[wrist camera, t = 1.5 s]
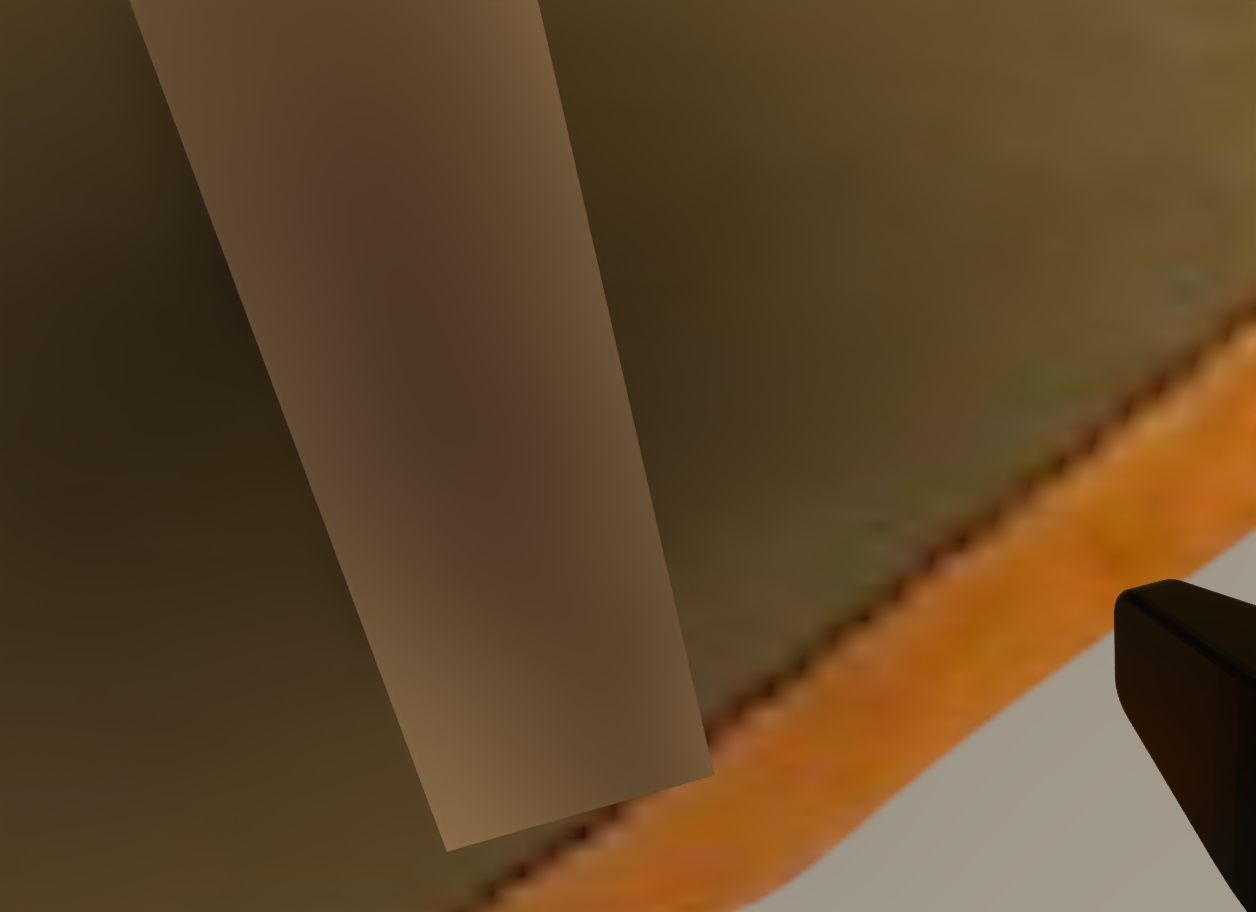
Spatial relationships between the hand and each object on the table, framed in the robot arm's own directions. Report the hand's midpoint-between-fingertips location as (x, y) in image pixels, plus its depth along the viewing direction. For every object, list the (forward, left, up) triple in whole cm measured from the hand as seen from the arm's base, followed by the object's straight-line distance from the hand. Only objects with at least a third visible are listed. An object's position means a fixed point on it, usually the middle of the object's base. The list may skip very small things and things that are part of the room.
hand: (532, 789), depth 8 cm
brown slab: (0, 0, -12) cm, 12 cm away
